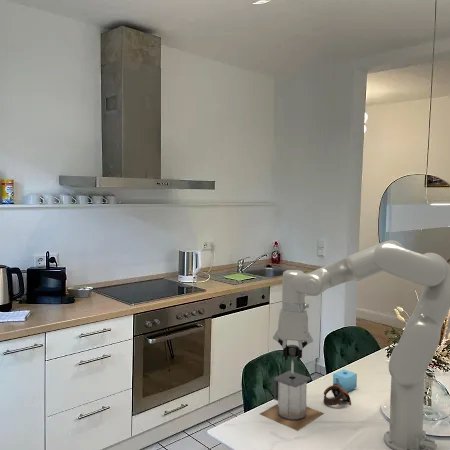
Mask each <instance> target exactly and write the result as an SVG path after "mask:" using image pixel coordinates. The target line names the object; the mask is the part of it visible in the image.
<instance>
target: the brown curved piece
mask: <svg viewBox="0 0 450 450" xmlns="http://www.w3.org/2000/svg"><path fill="white" fill-rule="evenodd" d="M329 392H331V393H332V394H333V398H329V397H327V394H328V393H329ZM341 400H342V402H344V403H348V404H349V405H350V406H352V401H351V400H352V399H351V397H350V395H349V392H348V393H347V391H346V390H344V389H343V388H341V387H340V386H339V385H338V384H336V383H335V384H333V383H332V385H330V386H328V387H327V388H326V389H325V390H324V391H323V404H324V405H325V406H330V407H332V406H337V405H338V406H342V402H341Z"/></svg>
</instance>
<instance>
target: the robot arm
mask: <svg viewBox="0 0 450 450" xmlns="http://www.w3.org/2000/svg"><path fill="white" fill-rule="evenodd" d="M384 272H385V273H388V274H390V275H392V276H395V277H398V278H400V279H403V280H406V281H408V282H411V283H414V284H417V285H420V286H423V290H422V292H421V295H420V297H419V298H418V301H417V303H416V306H415V308H414V310H413V312H412V314H411V315H410V317H409V318H408V320H407V321H406V323H405V326H404V330H403V332H402V334H401V336H400V338H399V340H398V343H397V345H395V347H394V348H393V350H392V351H391V355H390V357H389V360H388V373H389V374H390V376H391V378H390V398H389V399H390V404H389V429H388V431H386V432H384V435H383V440H384V443H385V444H386V445H387V446H388V447H389V448H390V449H392V450H428V449H430V450H437V449H438V448H437V447H438V445H437V443H436V440H435V439H432V438H430V437H428V436H426V435H427V432H426V430H424V429H423V428H424V403H425V383H426V382H425V381H426V380H425V379H426V372H427V369H428V367H429V365H430V363H431V362H432V359H433V357H434V356H435V353H436V351H437V349H438V347H439V344H440V340H441V333H442V332H441V331H442V327H443V325H444V322H445V320H446V319H447V316H448V314H449V312H450V264H449V262H447V261H446V259H445V258H444V257H443V256H441V255H440V254H438V253H435V252H425V253H419V252H417V251H412V250H411V249H408V248H405V247H404V246H403V244H401V242H400V241H397V240H395V239H393V240H392V239H391V240H390V239H389V240H386V241H383V242H380V243H378V244H376V245H373V246H370V247H368V248H365V249H363V250H359V251H358V252H356V253H352V254H350V255H348V256H346V257H344V258H343V259H340V260H337V261H335V262H333V263H332V262H331V263H330V264H328V265H326V266H322V267H320V268H317V269H315V270H313V271H310V272H308V273H305V272H304V271H302V270H299V269H287V270H285V271H283V273H282V284H281V285H282V289H281V290H282V291H281V293H282V294H281V295H282V296H281V297H282V299H281V302H282V303H281V308H280V310H279V315H278V321H277V322H278V324H277V330H276V332H275V333H274V335H273V337H272V339H273V340H275V341H276V342H277V343H278V344H279V345H280V346H281V347H282V356H283V357H284V360H285V361H288V357H289V356H288V355H287V346H288V344H287V343H288V341H295V342H296V341H297V342H298V343H297V344H298V350H297V357H296V358H297V362H301V361H300V360H301V359H303V349H304V348H305V347H306V346H307V345H310V344H311V343H313V342H314V338H313V337H312V335H311V334H310V332H309V316H308V311H307V310H306V309H309V308H310V303H309V304H308V303H306V301H305V300H306V299H305V295H307V296H309V297H310V296H311V297H316V296H317V297H318V296H320V295H321V294H322V293H324V292H325V291H327V290H328V289H330V288H334V287H335V286H339V285H341V284H344V283H347V282H352V281H353V282H354V281H355V282H358V281H363V280H366V279H368V278H371V277H373V276H375V275H378V274H381V273H384Z"/></svg>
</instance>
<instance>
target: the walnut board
mask: <svg viewBox="0 0 450 450" xmlns="http://www.w3.org/2000/svg"><path fill="white" fill-rule="evenodd" d="M324 414H325V413H324V412H321V411H319V410H316V409H314V408H311V407H309V406H306V417H305V418H304V419H302V420H298V421H290V420H285V419H283V418H281V417H280V416H279V415H278V403H277V404H275V405H273V406H271V407H269V408H268V409H265V410H264V411H262V412H260V413H259V415H260V416H263V417H265V418H268V419H269V420H272V421H274V422H276V423H279V424H280V425H284V426H286V427H288V428H290V429H292V430H295V431H297V432H299V431H300V430H302V429H303V428H305V427H306V426H307V425H310V424H311V423H313V422H314V421H315V420H316V419H318V418H320V417H321V416H323V415H324Z"/></svg>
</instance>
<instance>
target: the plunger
mask: <svg viewBox="0 0 450 450" xmlns="http://www.w3.org/2000/svg"><path fill="white" fill-rule="evenodd" d="M298 347H299V345H296V344H287V355H288V357H291V358H290V359H291V360H290V361H291V362H290V365H291V366H290V371H291V379H293V377H294V372H295V371H294V369H295V367H294V365H295V362H294V361H295V360H294V359H295V358H297V350H298Z"/></svg>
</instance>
